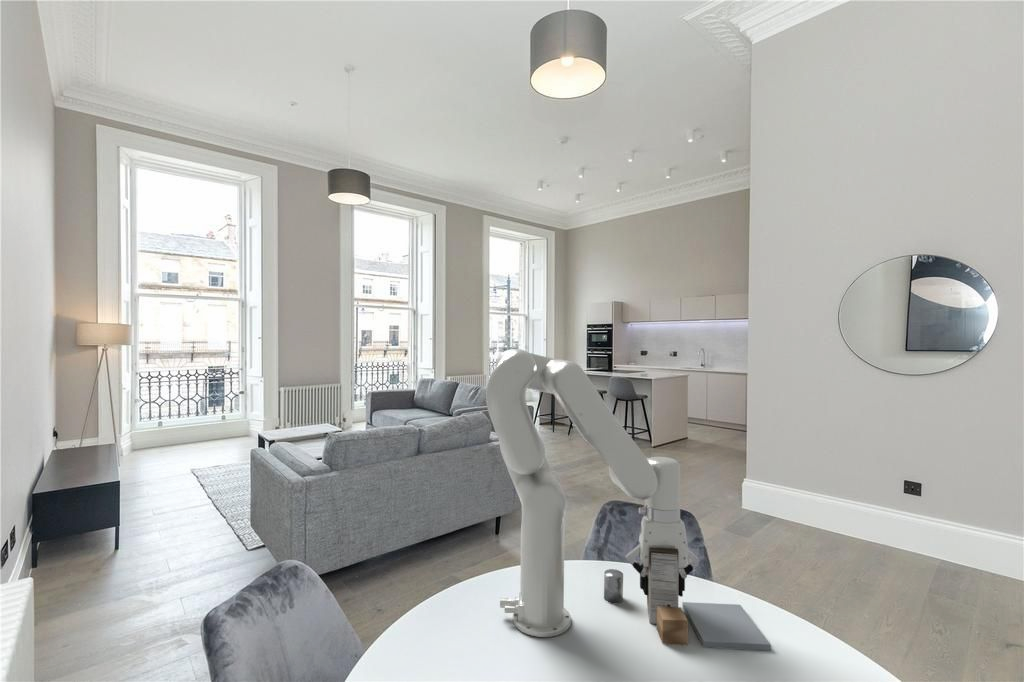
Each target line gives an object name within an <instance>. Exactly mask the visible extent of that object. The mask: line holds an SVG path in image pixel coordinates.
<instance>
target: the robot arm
mask: <svg viewBox="0 0 1024 682" xmlns="http://www.w3.org/2000/svg"><path fill="white" fill-rule="evenodd" d="M494 365H495V366H494V369H493V370H492V372H491V374H490V376H489V378H488V382H487V383H486V384H487V385H486V390H485V404H486V409H487V411H488V415H489V418H490V421H491V423H492V426H493V428H494V429H493V430H494V432H495V435H496V437H497V439H498V443H499V449H500V450H499V451H500V453H501V457H502V458H503V459H502V460H503V461H504V464H505V466H506V469H507V471H508V474H509V476H510V478H511V481H512V483H513V486H514V488H515V491H516V494H517V496H518V498H519V501H520V503H521V526H520V582H519V583H520V585H519V586H520V590H519V591H520V592H519V594H518V595H519V596H518V597H517V596H515V597H514V598H506V597H501V598H500V601H499V608H501V609H502V608H503V609H504V614H505V613H506V614H512V621H513V624H514V626H515V628H517V630H519V631H520V632H522V633H524V634H526V635H527V636H533V637H538V638H550V637H551V638H552V637H556V636H559V635H562V634H564V633H565V632H566V631H568V629H569V628H570V627H571V625H572V624H571V623H572V621H571V619H572V617H571V614H570V612H569V610H567V609H566V608H565V603H564V602H565V600H564V598H565V590H564V589H565V529H566V527H565V526H566V520H567V519H566V518H567V511H568V503H567V497H566V496H567V495H566V492H565V490H564V488H563V487H562V485H561V483H560V482H559V481H558V480H557V478H556V477H555V476H554V474H553V473H552V470H551V467H550V466H549V463H548V461H547V457H546V449H545V444H544V442H543V440H542V438H541V437H540V435H539V433H538V431H537V427H536V426H535V422H534V421H533V418H532V416H531V413H530V409H529V407H528V404H527V400H526V394H527V389H528V390H532V391H535V392H536V391H537V392H540V393H541V392H542V393H547V394H552V395H553V396H554V397H555V399H556V400H557V402H558V403H559V405H560V406H561V407H562V409H563V411H564V412H565V414H567V416H568V418H569V419H570V421H571V423H572V424H573V425H574V427H575V428H576V430H577V431H578V433H579V434H580V436H581V437H582V438H583V440H585V441H586V442H587V443H588V444H589V446H591V448H593V450H595V451H596V452H597V453H598V454H599V455H600V456H601V458H602V459H603V460H604V461H605V462H606V464H607V465H608V475H609V478H610V480H611V481H612V483H614V485H616V486H617V487H618V488H619V489H620V490H622V491H623V492H624V493H625V494H626V495H627V496H628V497H630V498H632V499H633V500H636V501H644V505H643V506H642V507H638V513H639V515H640V514H642V515H643V517H641V518H642V519H641V524H640V527H639V528H640V529H639V537H638V544H637V545H636V547H634V548H632V549H631V550H630V551H629V552H628V553H626V554H625V558H626V560H627V561H628V562H629V563H630V565H631V566H632V567H633V568H634V570H636V572H638V573H637V574H639V588H640V589H641V590H642V591H643V593H644V595H645V596H647V594H648V576H647V572H648V567H649V548H669V549H670V548H672V549H678V551H679V593H678V597H683V595H684V594H683V593H684V592H685V591H686V579H687V577H688V575H689V574H690V573H692V571H693V569H694V568H695V567H696V566H697V565H698V564H699V563H700V559H699V558H698V556H696V555H695V554H694V552H692V551H691V550H689V548H688V541H687V531H686V526H685V521H683V520H682V519H681V465H680V463H679V461H678V460H677V459H674V458H672V457H668V456H653V457H646V456H645V454H644V453H643V451H642V450H641V448H640V447H639V446H638V444H637V443H636V442H635V440H634V439H633V437H631V436H630V434H629V433H628V431H626V429H625V428H624V426H623V425H622V424H621V422H620V421H619V419H618V418H617V417H616V415H614V413H613V412H612V410H610V408H609V407H608V405H607V403H606V402H605V401H604V399H603V398H602V396H601V394H600V393H599V392H598V390H597V389H596V387H595V385H594V384H593V382H592V381H591V379H590V377H589V376H588V375H587V374H586V372H585V371H584V369H583V368H582V367H581V365H580V364H578V363H577V362H575V361H572V360H566V359H560V358H559V359H558V358H553V357H547V356H543V355H540V354H539V355H538V354H535V353H531V352H529V351H527V350H525V349H521V348H511V349H506V350H504V351H502V352H501V353H500V354H499V356H498V357H497V359H496V361H495V364H494ZM637 556H638V557H639V558H640V563H639V562H638V561H637V560H636V557H637Z"/></svg>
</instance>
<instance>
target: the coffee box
mask: <svg viewBox="0 0 1024 682" xmlns="http://www.w3.org/2000/svg"><path fill="white" fill-rule="evenodd" d="M647 576H648V594H647V595H646V605H647V612H648V613H647V614H648V615H647V616H648V623H649V624H653V625H657V606H660V607H679V595H678V593H679V551H678V549H672V548H670V549H669V548H649V567H648V572H647Z"/></svg>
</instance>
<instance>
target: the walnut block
mask: <svg viewBox="0 0 1024 682" xmlns="http://www.w3.org/2000/svg"><path fill="white" fill-rule="evenodd" d="M688 621H689V619H688V617H687V615H686V613H685V612H684V610H683V608H682V607H680V606H678V607H660V606H657V624H656V631H657V633H658V636H659V638H660V640H661V644H662V645H675V646H676V645H677V646H688V643H689V641H688V640H689V639H688V637H689V635H688V632H689V630H688V629H689V627H688V626H689V622H688Z"/></svg>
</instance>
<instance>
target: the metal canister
mask: <svg viewBox="0 0 1024 682" xmlns="http://www.w3.org/2000/svg"><path fill="white" fill-rule="evenodd" d="M603 573H604V575H603V576H604V580H603V599H604V601H606V602H607V601H608V602H607V603H609V602H611V603H610V604H613V603H618V604H620V603H622V602H623V601H624V600H623V598H624V573H623V572H622V571H620V569H619V570H618V569H616V568H615V569H613V568H609V569H605V571H604V572H603Z"/></svg>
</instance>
